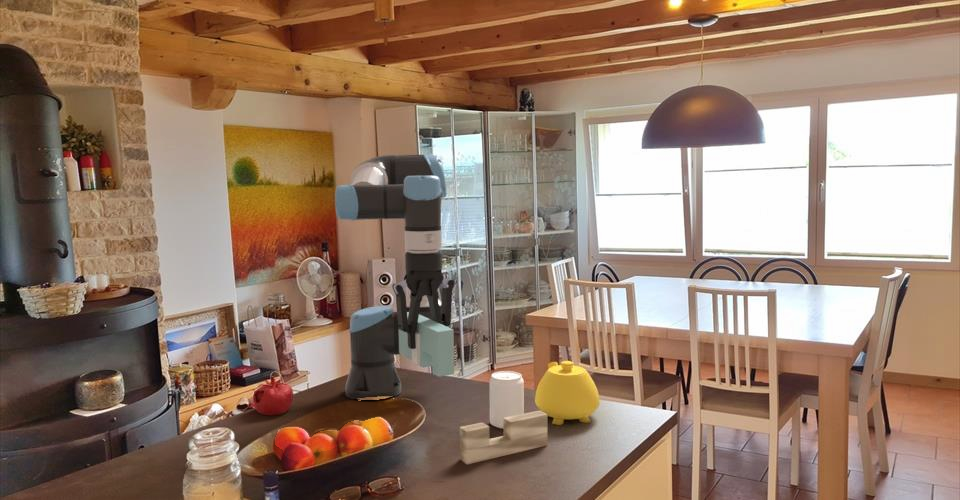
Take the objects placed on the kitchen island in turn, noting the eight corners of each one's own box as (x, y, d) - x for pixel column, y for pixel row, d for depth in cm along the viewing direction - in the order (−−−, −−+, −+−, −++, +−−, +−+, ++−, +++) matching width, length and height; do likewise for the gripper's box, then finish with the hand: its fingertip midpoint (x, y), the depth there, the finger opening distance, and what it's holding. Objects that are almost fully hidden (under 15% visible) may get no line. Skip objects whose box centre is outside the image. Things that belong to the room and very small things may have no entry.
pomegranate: (296, 404, 181) (296, 369, 181) (290, 417, 172) (290, 380, 171) (257, 405, 180) (256, 370, 179) (249, 418, 170) (248, 381, 170)
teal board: (399, 353, 153) (398, 313, 152) (413, 351, 155) (412, 311, 154) (438, 376, 136) (437, 331, 135) (454, 374, 138) (453, 329, 137)
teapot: (523, 403, 180) (523, 351, 179) (580, 398, 183) (581, 347, 182) (545, 430, 161) (545, 373, 159) (609, 425, 164) (609, 368, 162)
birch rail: (460, 459, 145) (459, 427, 144) (539, 440, 155) (539, 410, 154) (466, 464, 142) (466, 431, 142) (547, 445, 152) (547, 414, 151)
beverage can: (521, 431, 160) (521, 381, 159) (486, 429, 162) (486, 379, 161) (526, 419, 168) (525, 371, 167) (493, 417, 170) (492, 369, 168)
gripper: (392, 255, 135) (395, 372, 138) (467, 249, 143) (468, 360, 146) (378, 251, 142) (381, 363, 145) (451, 246, 150) (452, 352, 153)
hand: (425, 361), depth 145 cm, fingers closed on teal board, 3 cm apart
